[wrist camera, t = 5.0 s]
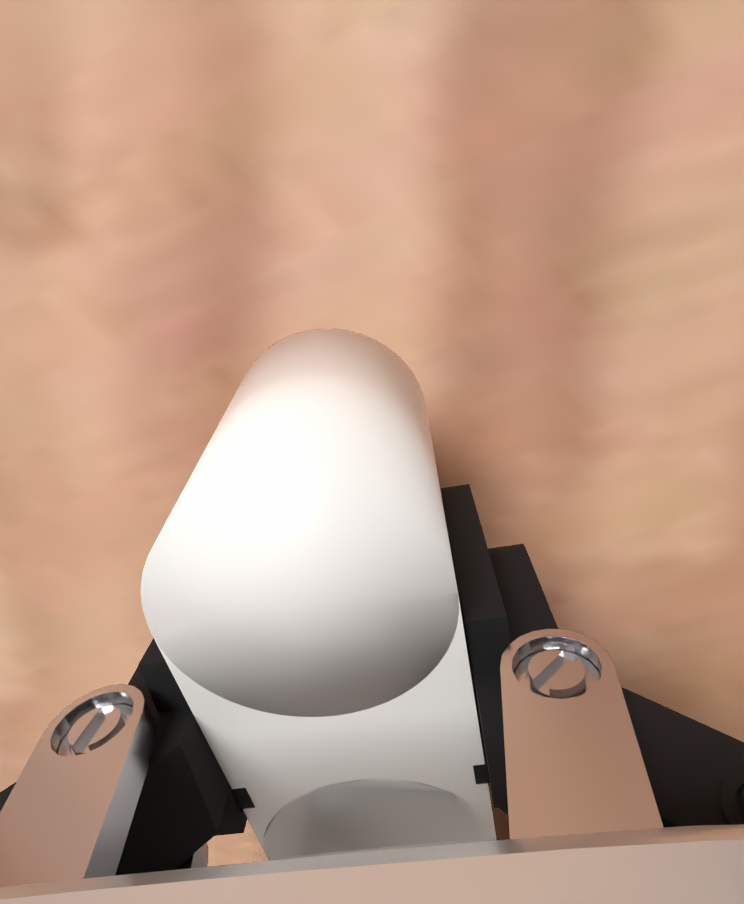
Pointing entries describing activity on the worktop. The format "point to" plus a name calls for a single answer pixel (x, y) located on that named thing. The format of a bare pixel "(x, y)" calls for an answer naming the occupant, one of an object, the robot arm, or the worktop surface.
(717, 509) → the worktop surface
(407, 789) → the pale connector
